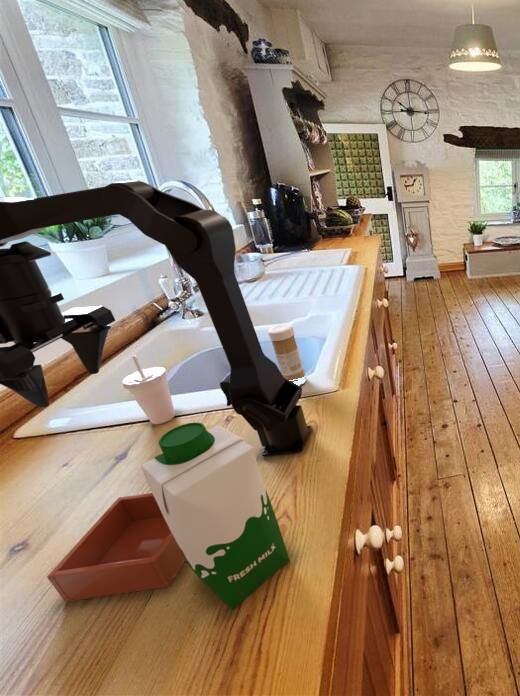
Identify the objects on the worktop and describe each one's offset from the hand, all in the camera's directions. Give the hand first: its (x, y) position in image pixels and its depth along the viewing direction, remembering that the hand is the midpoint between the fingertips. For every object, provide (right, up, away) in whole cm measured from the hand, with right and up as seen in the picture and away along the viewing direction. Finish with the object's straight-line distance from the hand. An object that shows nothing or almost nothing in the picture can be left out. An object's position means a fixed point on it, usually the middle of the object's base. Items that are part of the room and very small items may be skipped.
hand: (71, 389), depth 63 cm
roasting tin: (+20, -19, -9) cm, 30 cm away
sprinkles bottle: (+21, -4, +27) cm, 34 cm away
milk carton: (+35, -20, -12) cm, 42 cm away
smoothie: (0, -9, +17) cm, 19 cm away
